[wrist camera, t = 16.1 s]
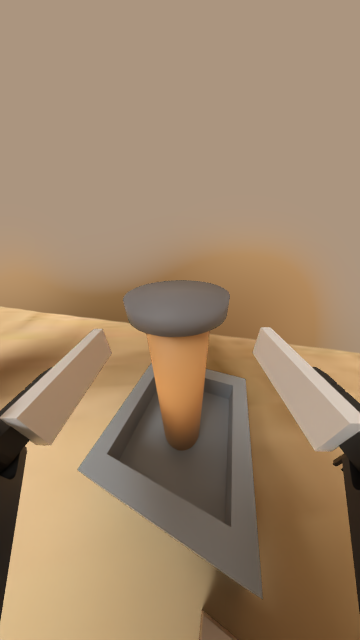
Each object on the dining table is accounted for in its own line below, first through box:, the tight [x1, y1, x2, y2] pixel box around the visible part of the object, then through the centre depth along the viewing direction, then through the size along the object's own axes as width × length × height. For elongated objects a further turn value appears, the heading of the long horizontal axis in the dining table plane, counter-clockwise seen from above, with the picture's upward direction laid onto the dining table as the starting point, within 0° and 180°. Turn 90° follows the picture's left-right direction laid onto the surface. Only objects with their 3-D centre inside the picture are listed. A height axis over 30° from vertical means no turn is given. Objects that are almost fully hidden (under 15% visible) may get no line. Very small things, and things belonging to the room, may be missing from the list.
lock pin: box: [123, 280, 230, 451], centre depth 11 cm, size 6×6×16 cm
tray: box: [77, 363, 263, 599], centre depth 15 cm, size 13×13×4 cm
